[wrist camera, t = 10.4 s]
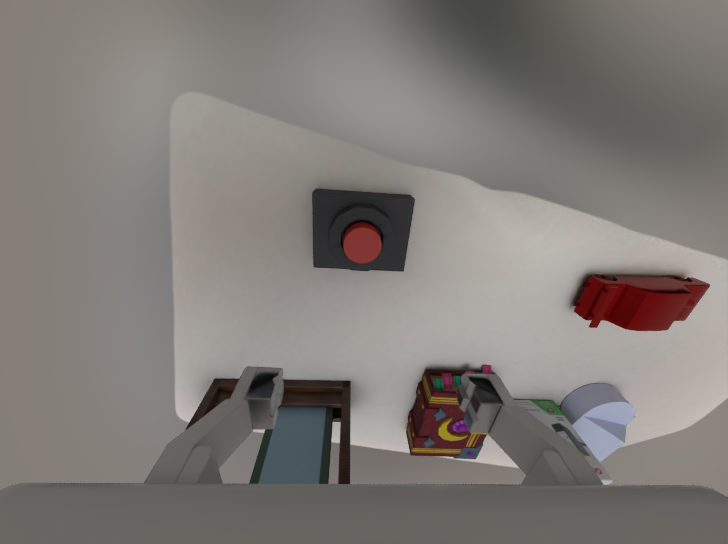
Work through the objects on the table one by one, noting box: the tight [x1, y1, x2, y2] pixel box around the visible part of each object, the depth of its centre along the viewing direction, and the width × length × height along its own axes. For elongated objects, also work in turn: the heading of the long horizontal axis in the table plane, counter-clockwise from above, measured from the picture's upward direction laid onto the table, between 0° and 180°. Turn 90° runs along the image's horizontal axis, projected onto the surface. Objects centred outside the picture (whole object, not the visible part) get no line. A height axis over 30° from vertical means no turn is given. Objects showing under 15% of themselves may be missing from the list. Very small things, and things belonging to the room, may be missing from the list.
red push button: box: [343, 222, 382, 263], centre depth 25 cm, size 4×4×2 cm
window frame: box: [186, 379, 350, 484], centre depth 34 cm, size 20×6×14 cm, turn 86°
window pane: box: [249, 407, 333, 484], centre depth 32 cm, size 9×2×15 cm, turn 86°
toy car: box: [574, 274, 710, 331], centre depth 32 cm, size 14×6×5 cm, turn 88°
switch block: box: [312, 189, 415, 271], centre depth 27 cm, size 10×8×4 cm
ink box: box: [514, 400, 613, 485], centre depth 39 cm, size 9×5×12 cm, turn 85°
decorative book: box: [406, 365, 495, 459], centre depth 40 cm, size 11×16×5 cm
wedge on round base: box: [561, 383, 635, 462], centre depth 42 cm, size 9×7×13 cm
